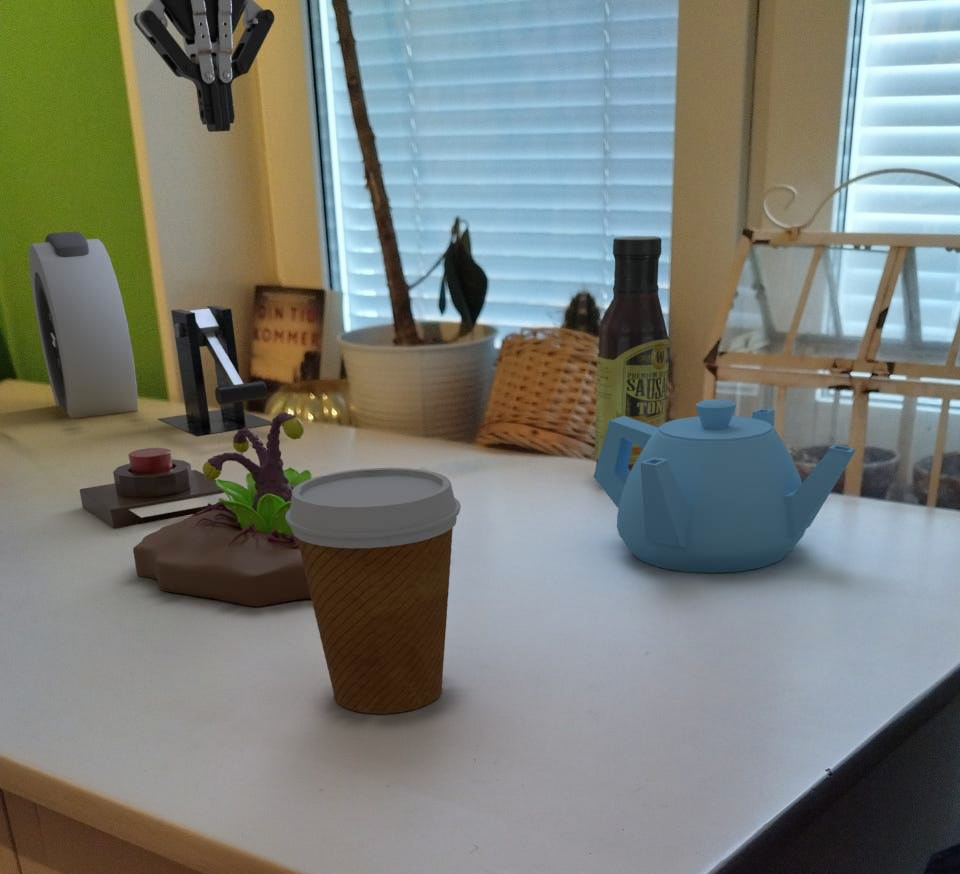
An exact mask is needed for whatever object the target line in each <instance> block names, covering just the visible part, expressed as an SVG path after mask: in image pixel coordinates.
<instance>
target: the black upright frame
mask: <svg viewBox="0 0 960 874" xmlns="http://www.w3.org/2000/svg"><path fill="white" fill-rule="evenodd" d="M206 309H210V311H211V313H212V314H213V316H214V318H215V319H216V321H217V323H218V325H219V334H218V340H219V342H220V344H221V346H222V347H223V349H224V351H225V353H226V354H227V356H228V358H229V359H230V361H231V363H232V365H233V366H234V368H235V370H236V372H237V373H238V375H239V377H240V368H239V362H238V361H239V360H238V354H237V344H236V337H235V336H236V335H235V329H234V321H233V312H232V309H231V308H230V307H224V306H220V305H215V304H214V305H207V306H206ZM170 310H171V311H170V312H171V319H172V320H171V321H172V325H173V333H174V339H175V345H176V354H177V360H178V366H179V367H178V368H179V375H180V381H181V388H182V394H183V395H182V396H183V401H184V408H185V414H181V415H173V416H168V417H166V416H165V417H160V418H157V420H158V421H160V422H162V423H165V424H167V425H170V426H172V427H174V428H177V429H178V430H181V431H183V432H185V433H188V434H190V435H192V436H195V437H202V436H203V437H204V436H210V435H216V434H223V433H228V432H235V431H239V430H241V429H243V428H245V429H246V428H247V429H254V428H261V427H267V426H271V424H272V423H273V422H272V421H271V420H268V419H265V418H263V417H260V416H257V415H255V414H252V413H250V412H246V411H245V410H244V401H242V402H235V403H229V404H222V405H219V407H220V409H214V410H209V405H208V399H207V398H208V397H207V392H206V391H207V390H206V384H205V378H204V377H205V376H204V369H203V361H202V355H201V347H200V346H199V339H198V332H197V324H196V317H195V313H193V312H190V310H189V311H188V310H185V309H179V308H177V309H170ZM213 361H214V369H215V376H216V383H217V387H223V386H229V385H228V383H227V381H226V379H225V378H224V376H223V374H222V372H221V371H220V369H219V367H218V365H217V364H216V362H215V360H214V359H213ZM240 378H241V377H240Z"/></svg>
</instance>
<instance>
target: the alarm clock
mask: <svg viewBox="0 0 960 874" xmlns="http://www.w3.org/2000/svg"><path fill="white" fill-rule="evenodd" d="M28 264H29V277H30V285H31V286H30V287H31V292H32V293H31V294H32V299H33V307H34V313H35V317H36V323H37V328H38V335H39V339H40V343H41V348H42V353H43V354H42V355H43V358H44V363H45V367H46V371H47V377H48V380H49V385H50V389H51V392H52V395H53V400H54V403H55V406H56V407H58V406H61V407H62V408H63V409H64V410H65V412H66V413H67V414H68V416H69V417H70V418H71V419H80V418H81V419H82V418H88V417H98V416H107V415H115V414H124V413H132V412H138V411H139V394H138V384H137V374H136V368H135V359H134V353H133V347H132V342H131V341H132V340H131V335H130V330H129V325H128V324H129V323H128V320H127V315H126V311H125V306H124V302H123V297H122V294H121V290H120V287H119V282H118V279H117V275H116V272H115V270H114V267H113V264H112V260H111V257H110V255H109V253H108V251H107V249H106V247H105V244H104V243H103V242H102V241H101V240H100V239H99V238H88V239H86V237H85V236H84V234H83V233H81V232H80V231H76V230H75V231H63V232H62V231H61V232H50V233H48V234H47V235H45V239H44V242H35V243H33V242H32V243H31V245H29V251H28Z"/></svg>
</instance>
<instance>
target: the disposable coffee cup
mask: <svg viewBox="0 0 960 874" xmlns="http://www.w3.org/2000/svg"><path fill="white" fill-rule="evenodd" d="M452 486H453V485H452V482H451V481H450V479H449V478H448V477H447V476H445V475H443V474H442V473H439V472H435V471H430V470H427V469H421V468H409V467H370V468H357V469H350V470H349V469H348V470H342V471H336V472H332V473H327V474H322V475H319V476H314V477H311V479H309V480H306V481H304V482H302V483H300V484H298V485H297V486H296V487H295V488H294V489H293V490H292V497H291V507H290V509H289V510H288V511H287V513H286V516H285V517H286V521H287V523H288V524H289V525H290V527H291V528H292V532H293V534H294V536H295V537H297V540H298V544H299V548H300V553H301V557H302V562H303V566H304V569H305V574H306V578H307V583H308V587H309V591H310V596H311V603H312V608H313V611H314V612H313V613H314V616H315V621H316V625H317V629H318V633H319V637H320V640H321V647H322V650H323V654H324V658H325V663H326V667H327V671H328V675H329V679H330V683H331V687H332V692H333V697H334V700H335V702H336V703H337V704H338V705H340V706H341V707H343V708H346V709H347V710H350V711H353V712H354V711H355V712H359V713H365V714H379V715H380V714H384V715H385V714H393V713H395V714H396V713H403V712H407V711H411V710H416V709H419V708H421V707H424V706H426V705H429V704H430V703H432V702H434V701H435V700H437V699H438V698H439V697H440V695H441V694H442V691H443V677H444V661H445V660H444V659H445V647H446V632H447V620H448V605H449V604H448V602H449V589H450V575H451V563H452V562H451V561H452V545H453V529H454V527H455V526H456V523H457V519H458V517H457V516H459V514H460V511H461V507H462V505H461V503H460V501H459V499H457V498H456V497H455V495H454V490H453V487H452Z"/></svg>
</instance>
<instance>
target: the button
mask: <svg viewBox="0 0 960 874" xmlns="http://www.w3.org/2000/svg"><path fill="white" fill-rule="evenodd" d="M172 459H173V458H172V452H171V450H170V449H169V448H165V447H148V448H147V447H145V448H141V449H136V450H133V451H130V452H128V461H129V463H130V467H131V473H138V474H145V473H158V472H164V471H168V470H171V469H173V465H172Z"/></svg>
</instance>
